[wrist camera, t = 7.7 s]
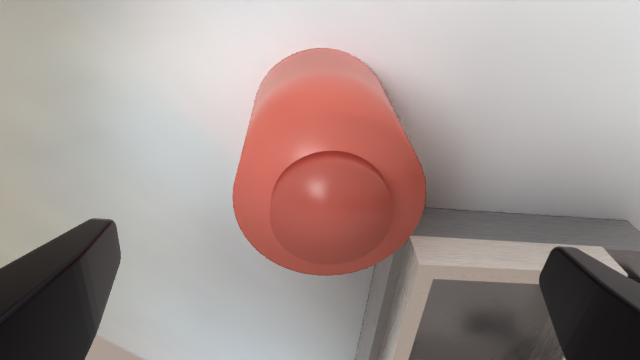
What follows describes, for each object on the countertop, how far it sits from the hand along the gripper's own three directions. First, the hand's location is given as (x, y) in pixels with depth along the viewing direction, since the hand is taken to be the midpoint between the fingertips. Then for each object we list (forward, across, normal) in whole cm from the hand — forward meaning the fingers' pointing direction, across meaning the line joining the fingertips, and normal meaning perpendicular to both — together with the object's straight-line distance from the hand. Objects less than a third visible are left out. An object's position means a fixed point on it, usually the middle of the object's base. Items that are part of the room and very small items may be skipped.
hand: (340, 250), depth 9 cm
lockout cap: (+7, 0, 0) cm, 7 cm away
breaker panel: (+7, -8, +10) cm, 15 cm away
